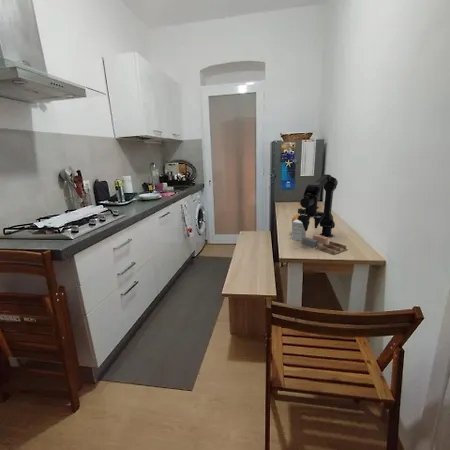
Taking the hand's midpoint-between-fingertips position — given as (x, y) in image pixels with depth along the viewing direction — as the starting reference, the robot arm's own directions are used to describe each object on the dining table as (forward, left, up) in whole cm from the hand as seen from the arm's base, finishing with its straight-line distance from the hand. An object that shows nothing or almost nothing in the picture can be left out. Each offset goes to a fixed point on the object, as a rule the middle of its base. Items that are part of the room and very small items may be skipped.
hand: (310, 229), depth 161 cm
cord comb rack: (-4, +13, -10) cm, 17 cm away
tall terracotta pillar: (-10, 0, -11) cm, 15 cm away
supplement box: (-4, -13, -11) cm, 17 cm away
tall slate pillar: (0, 0, -11) cm, 11 cm away
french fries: (-11, -20, -11) cm, 25 cm away
